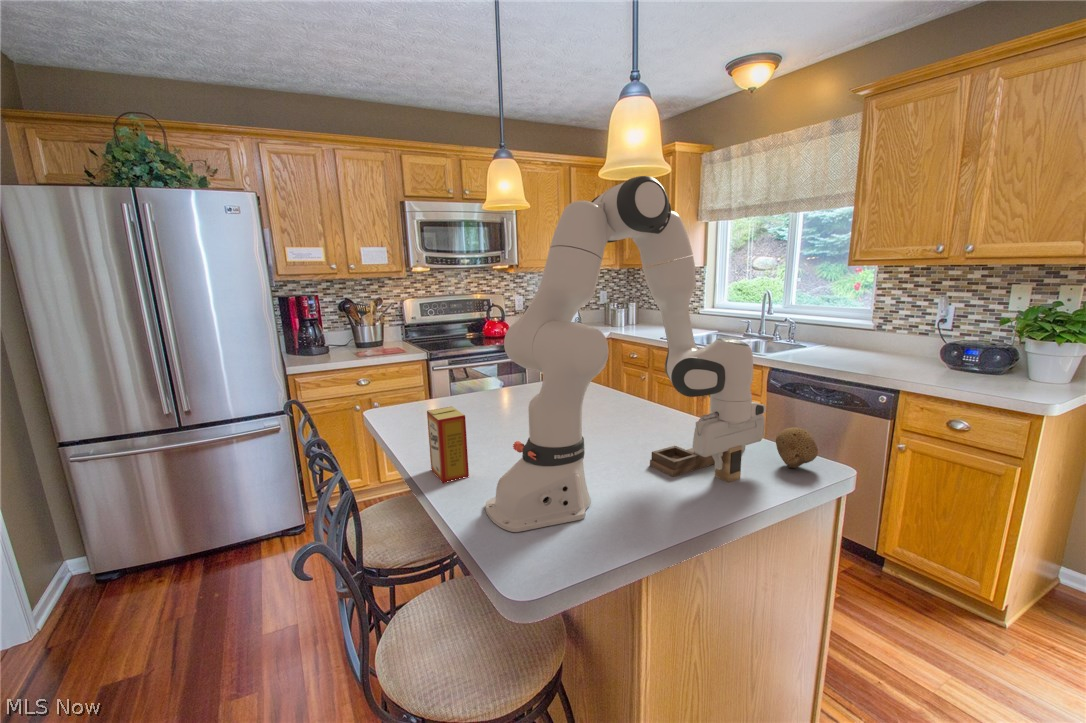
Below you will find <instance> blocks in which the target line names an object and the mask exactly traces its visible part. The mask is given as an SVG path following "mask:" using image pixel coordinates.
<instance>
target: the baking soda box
mask: <svg viewBox="0 0 1086 723" xmlns="http://www.w3.org/2000/svg"><path fill="white" fill-rule="evenodd" d="M426 415H427V417H426V418H427V430H428V432H427V433H428V443H429V456H430V457H429V458H430V469H432V470H431V472H432V473H433V474H434V473H435V474H436V475H437V476H438V477H437V476H436V475H435V474H434V475H435V476H436V477H437V478H438V479H439V480H441V481H442V482H443V483H442V482H441V481H440V482H441V483H442V484H445V483H444V482H447V481H451V480H455V479H459V478H463V477H468V476H469V477H470V474H469V471H470V470H469V455H468V442H467V426H466V424H467V423H466V415H465V414H464V413H462V412H461V411H459V410H458V409H457V408H455V407H454V406H447V407H443V408H442V407H441V408H435V409H428V410H426ZM469 477H468V478H469ZM463 479H464V478H463ZM459 480H460V479H459ZM455 481H456V480H455ZM451 482H452V481H451ZM447 483H448V482H447Z"/></svg>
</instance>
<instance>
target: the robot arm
mask: <svg viewBox="0 0 1086 723" xmlns="http://www.w3.org/2000/svg"><path fill="white" fill-rule="evenodd" d="M624 239H631V240H632V241H633V243H635V245H636V247H637V248H638V250H639V253H640V261H641V266H642V271H643V275H644V278H645V282H646V285H647V287H648V290H649V292H650V295H651V297H652V299H653V300H654V302H655V304H656V306H657V307H658V309H659V311H660V314H661V317H662V323H663V327H664V333H665V336H666V341H667V353H666V357H665V360H664V371H665V374H666V376H667V378H668V379H669V381H670V382H671V384H672V386H673V388H674V389H675V390H676V391H677V393H679V394H680V395H682V396H685V397H687V398H688V397H689V398H697V397H703V396H710V397H709V399H710V400H709V402H710V403H709V413H707V414H703V415H701V417H700V418H698V420H697V421H696V422H697V424H696V423H695V428H694V432H693V439H692V440H693V441H692V448H693V451H694V452H695V453H696V454H698V455H700V456H703V457H708V456H712V457H713V459H714V461H715V464H714V469H715V468H716V469H718V470H721V469H724V468H725V462H724V461H722V459H721V456H723V452H725V451H728V450H729V449H730V448H733V447H737V446H740V445H742V454H741V458H742V456H744V454H745V451H746V446H748V445H753V444H755V443H760V442H761V441H762V440H763V438H764V436H765V429H766V428H765V427H766V423H765V422H766V418H765V415H764V414H766V412H767V406H766V405H765V404H762V403H759V402H757V401H753V395H752V391H751V390H752V389H751V388H752V387H751V386H752V382H753V380H754V379H753V378H754V356H753V350H752V348H751V346H750V345H748V343H746V342H744V341H742V340H739V339H734V338H729V337H719V338H716V339H715V340H714V341H713V342H712V343H710V344H708V345H706V346H704V347H701V348H698V346H697V344H696V341H695V338H694V333H693V332H694V331H693V328H692V321H691V316H690V301H691V299H692V295H693V293H694V291H695V289H696V286H697V285H696V284H697V282H696V280H697V277H696V265H695V264H696V262H695V259H694V255H693V254H694V253H693V250H692V245H691V242H690V239H689V235H688V232H687V229H686V227H685V224H684V222H683V220H682V218H681V216H680V215H679V214H678V213H677V212H675V211H673V210H672V206H671V203H670V200H669V197H668V195H667V192H666V190H665V188H664V186H663V185H662V183H660V182H659V181H658V180H657V179H656V178H654V177H653V176H649V175H639V176H636V177H635V176H634V177H631V178H629V179H627V180H626V181H624V182H621V183H619V184H617V185H613V186H611V187H610V188H608V189H607V190H605V191H604V192H603V193H601V194H600V195H598V196H596V197H595V198H594V199H593V200H591V201H588V200H576V201H573V202H571V203H569V204H567V206H565V208H564V209H563V211H562V213H561V215H560V218H559V220H558V222H557V224H556V227H555V230H554V231H553V236H552V239H551V242H550V246H549V250H548V255H547V258H546V262H545V266H544V269H543V273H542V277H541V280H540V283H539V285H538V287H537V290H536V292H535V295H534V296H533V298H532V299H531V302H530V304H529V305H528V307H527V309H526V310H525V311H524V313H523V314H522V316H521V317H520V318H519V319H518V320H516V321H515V322H514V323H513V324H511V325H510V326H509V327H508V329H507V330H506V333H505V336H504V340H503V347H504V351H505V354H506V356H507V358H508V359H509V360H510V361H511V362H513V363H515V364H517V365H518V366H520V367H522V368H524V369H526V370H529V371H532V372H533V371H534V372H538V373H541V374H542V377H543V378H542V384H541V388H540V391H539V393H537V394H536V395H535V396H533V398H531V400H530V401H529V403H528V411H527V412H528V432H529V433H528V434H529V435H528V436H529V437H528V439H527V440H526V443H525V444H524V443H522V442H521V441H519V440H517V441H514V444H512V449H514V451H516V452H517V453H522V455H521V456H522V457H521V458H520V459H519V460H518V461H517V462H516V463H515V464H513V466H511V467H510V469H509V470H507V472H505V473H504V474H503V475H502V476H501V477H500V478H499V479H498V482H497V484H496V488H495V490H496V491H495V496H494V497H493V498H490V499H488V500H486V502H485V513H486V514H487V517H488V518H489V519H490V520H491V521H492V522H493V523H494V524H496V526H498V527H499V528H501V529H503V530H506V531H508V532H512V533H519V532H524V531H529V530H530V531H531V530H535V529H540V528H545V527H549V526H556V525H559V524H560V525H561V524H565V523H570V522H575V521H581V520H584V519H585V517H586V510H587V509H588V508H589V506H590V505H591V500H592V499H591V496H590V493H589V489H588V486H587V480H586V476H585V466H584V458H585V438H584V437H583V405H584V399H585V395H586V392H587V390H588V387H589V386H590V384H591V382H592V380H594V378H596V377H597V376H598V375H599V374H601V372H602V371H604V369H605V367H606V366H607V365H606V364H607V362H608V359H609V351H610V350H609V349H610V348H609V344H608V339H607V337H606V336H605V335H604V333H603V332H602V331H601V330H599V329H597V328H596V327H593V326H590V325H587V324H584V323H582V322H576V321H572V320H573V318H574V316H575V315H576V314H577V313H578V312H579V311H580V310H581V309H582V308H583V307H584V306H585V305H587V304H588V303H590V302H591V301H592V299H593V298H594V296H595V292H596V287H597V283H598V280H599V275H600V271H601V268H602V262H603V259H604V253H605V248H606V246H607V243H615V242H617V241H619V240H624Z"/></svg>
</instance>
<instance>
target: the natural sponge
mask: <svg viewBox="0 0 1086 723" xmlns="http://www.w3.org/2000/svg"><path fill="white" fill-rule="evenodd" d="M775 444H776V449H777V453H778V455H779V457H780V459H781V460H782V462H784V464H785V465H786V466H787V467H788V468H798V467H800V466H802V465H804V464H809V463H810V462H813V461H814V460H815V459H816V458H817V457H818V454H819V448H818V445H817V443H816V441H815V439H814V437H813V436H812V435H811V433H809V431H807V430H806V429H804V428H801V427H797V426H795V427H788V428H785V429H782V430H781V431H780V432H779V433H778V434H777V435H776V437H775Z"/></svg>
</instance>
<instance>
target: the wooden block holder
mask: <svg viewBox="0 0 1086 723" xmlns="http://www.w3.org/2000/svg"><path fill="white" fill-rule="evenodd" d="M696 424H697V421H695V425H696ZM713 465H715V461H714V459H713V457H712V456H708V457H703V456H700V455H698V454H696V453H695V452H694V451H693V447H692V448H687V449H685V448H682V447H680V446H677V445H673V446H669V447H665V448H661V449H658V450H654V451H651V459H649V466H650V467H652V468H654V469H657V470H658V471H660V472H662V473H664V474H667V475H669V476H671V477H677V476H679V475H682V474H686V473H689V472H692V471H696V470H700V469H702V468H705V467H708V466H713Z"/></svg>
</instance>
